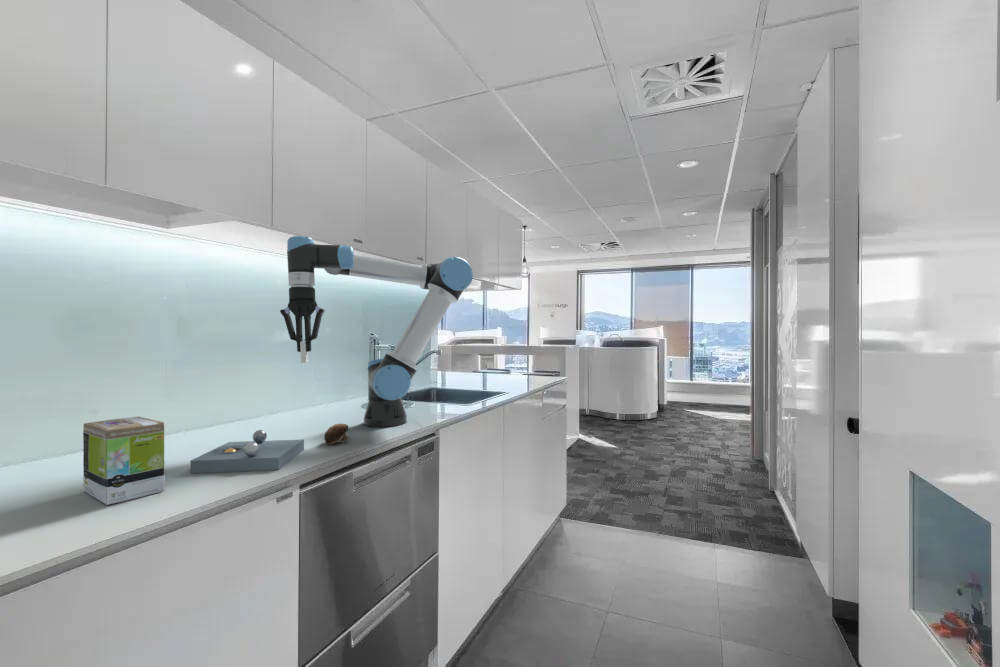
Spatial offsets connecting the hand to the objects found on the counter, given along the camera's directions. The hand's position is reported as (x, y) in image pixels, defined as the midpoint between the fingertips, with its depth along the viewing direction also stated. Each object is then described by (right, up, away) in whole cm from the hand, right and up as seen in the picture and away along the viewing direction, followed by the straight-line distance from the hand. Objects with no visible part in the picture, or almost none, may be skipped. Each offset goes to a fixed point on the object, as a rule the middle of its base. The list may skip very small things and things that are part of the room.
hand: (304, 362), depth 140 cm
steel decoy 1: (+1, -19, -31) cm, 37 cm away
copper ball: (-8, -22, -25) cm, 34 cm away
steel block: (-5, -19, -17) cm, 26 cm away
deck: (-3, -24, -24) cm, 34 cm away
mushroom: (+12, -24, -7) cm, 28 cm away
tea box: (-18, -25, -46) cm, 55 cm away
